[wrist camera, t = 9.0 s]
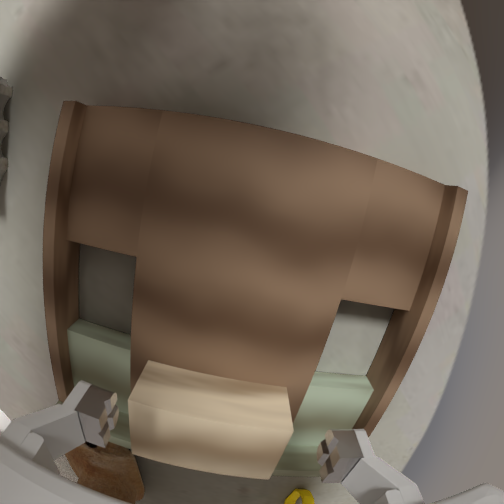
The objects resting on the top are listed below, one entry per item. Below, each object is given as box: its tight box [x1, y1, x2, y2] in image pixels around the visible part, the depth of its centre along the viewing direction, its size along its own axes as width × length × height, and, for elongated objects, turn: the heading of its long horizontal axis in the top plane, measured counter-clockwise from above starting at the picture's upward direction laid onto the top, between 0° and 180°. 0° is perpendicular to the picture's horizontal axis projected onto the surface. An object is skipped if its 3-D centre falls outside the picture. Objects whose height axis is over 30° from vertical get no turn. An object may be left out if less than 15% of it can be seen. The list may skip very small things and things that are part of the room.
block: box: [128, 360, 294, 480], centre depth 18 cm, size 6×10×4 cm, turn 78°
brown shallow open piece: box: [43, 101, 468, 477], centre depth 18 cm, size 24×26×5 cm
